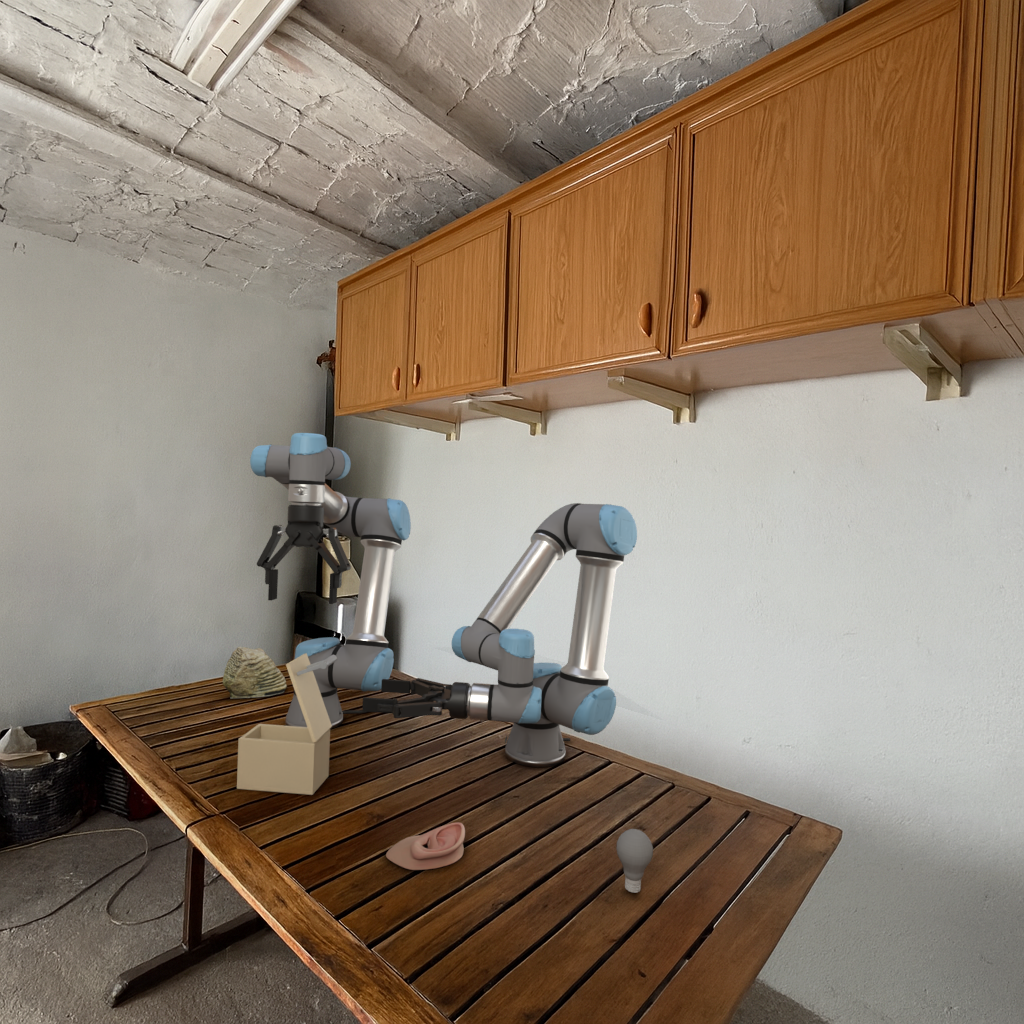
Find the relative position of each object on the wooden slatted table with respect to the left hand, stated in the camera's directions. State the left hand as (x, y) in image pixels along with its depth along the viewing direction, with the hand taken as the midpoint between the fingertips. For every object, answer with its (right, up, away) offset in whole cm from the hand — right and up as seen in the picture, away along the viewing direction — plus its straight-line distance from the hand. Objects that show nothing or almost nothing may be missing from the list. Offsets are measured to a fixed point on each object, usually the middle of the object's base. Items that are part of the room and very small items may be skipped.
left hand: (302, 601), depth 139 cm
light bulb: (+66, -44, -33) cm, 86 cm away
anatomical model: (+30, -42, -25) cm, 57 cm away
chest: (-4, -40, +1) cm, 40 cm away
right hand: (+16, -20, -1) cm, 25 cm away
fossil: (-35, -38, +59) cm, 78 cm away
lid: (+1, -21, 0) cm, 21 cm away
